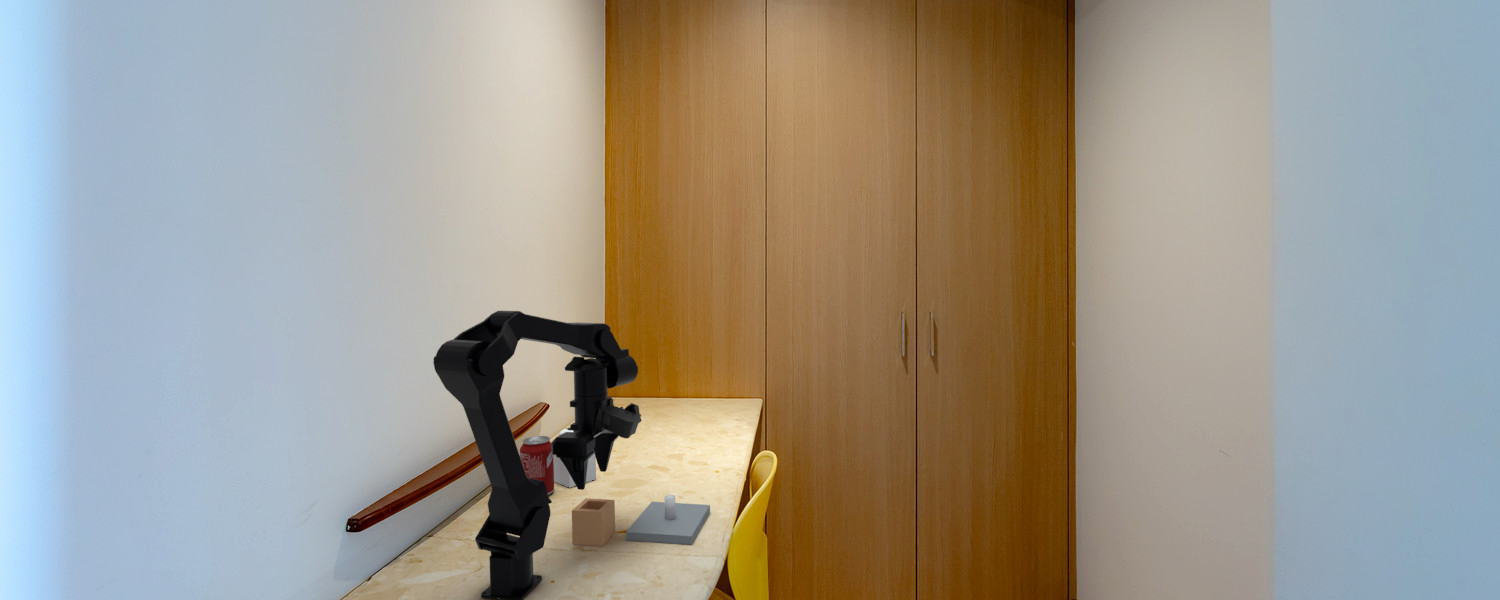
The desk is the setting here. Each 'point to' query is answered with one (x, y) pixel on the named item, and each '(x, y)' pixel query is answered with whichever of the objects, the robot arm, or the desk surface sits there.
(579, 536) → the brown square box
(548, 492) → the soda can
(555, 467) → the medicine bottle
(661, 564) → the desk surface
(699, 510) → the board
